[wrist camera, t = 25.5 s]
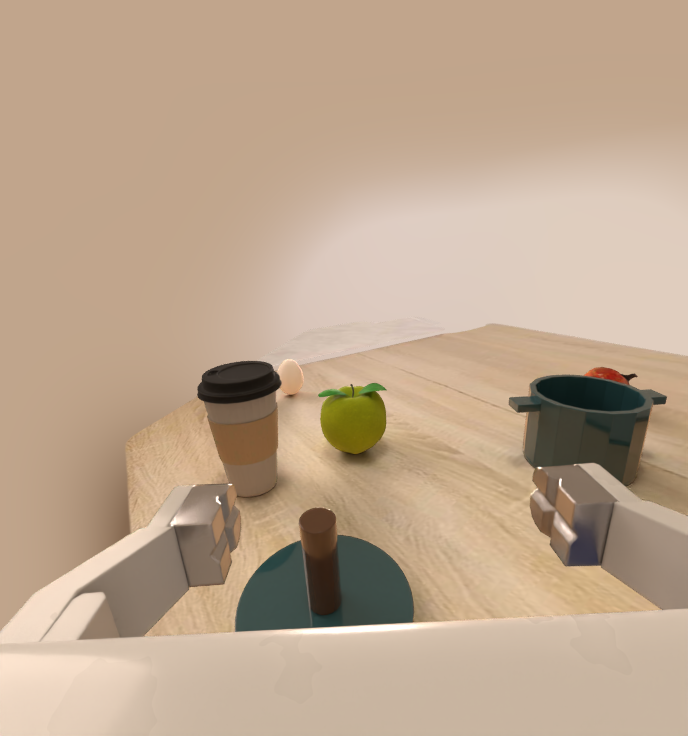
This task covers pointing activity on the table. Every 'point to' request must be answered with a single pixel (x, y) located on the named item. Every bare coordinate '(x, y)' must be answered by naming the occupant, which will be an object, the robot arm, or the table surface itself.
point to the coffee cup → (244, 422)
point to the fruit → (353, 417)
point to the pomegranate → (610, 375)
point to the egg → (290, 377)
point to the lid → (325, 583)
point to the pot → (586, 423)
